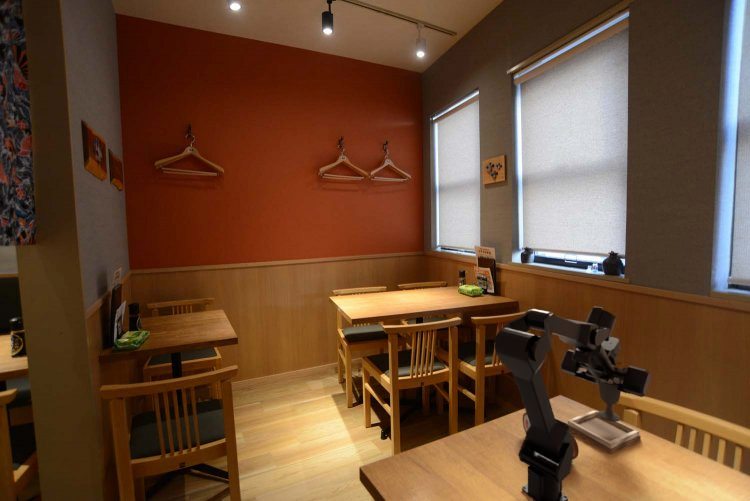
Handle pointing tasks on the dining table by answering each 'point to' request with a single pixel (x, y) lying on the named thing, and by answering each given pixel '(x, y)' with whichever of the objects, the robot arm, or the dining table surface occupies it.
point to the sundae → (609, 397)
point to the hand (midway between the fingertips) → (611, 386)
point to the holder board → (603, 432)
